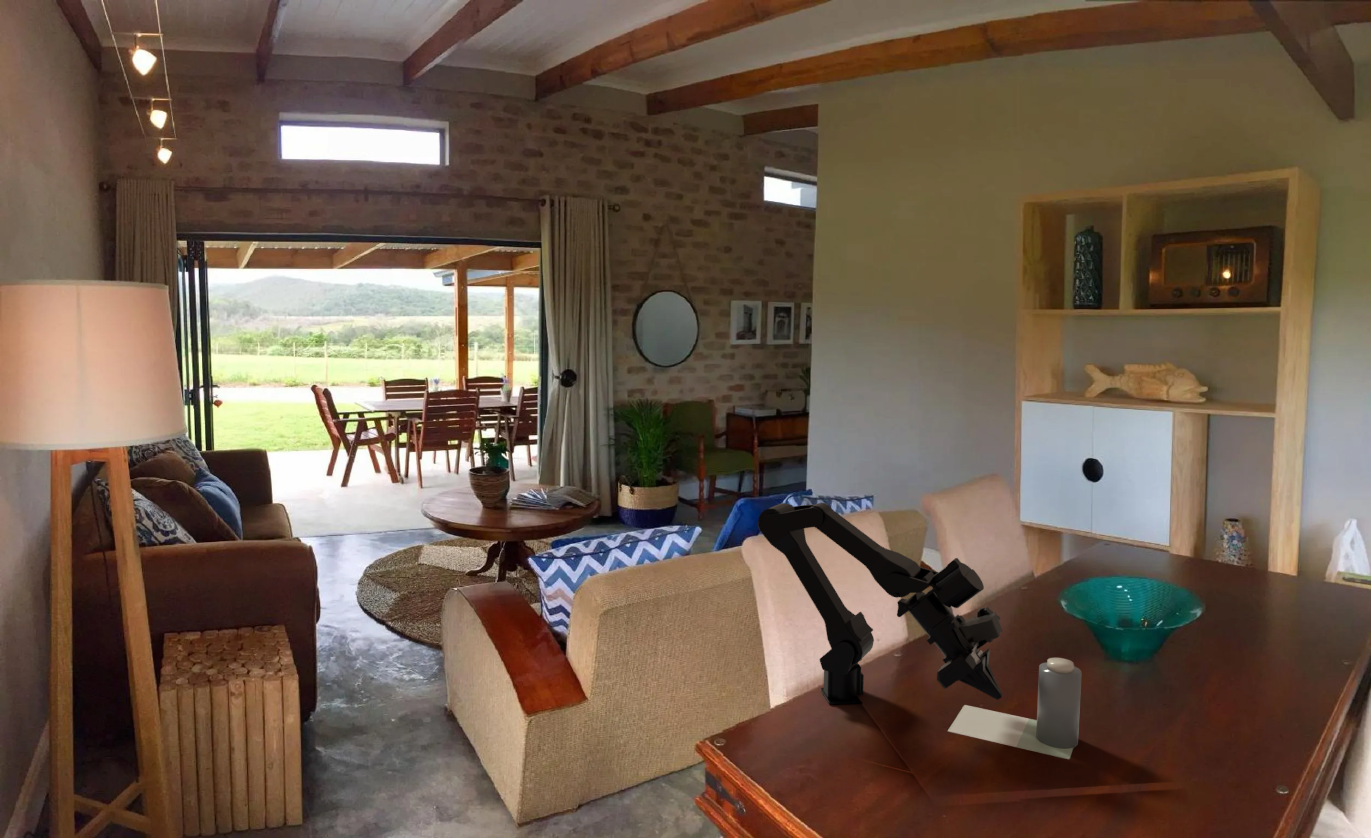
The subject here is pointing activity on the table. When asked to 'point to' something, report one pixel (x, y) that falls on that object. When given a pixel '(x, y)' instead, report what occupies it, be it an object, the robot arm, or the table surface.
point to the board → (1003, 730)
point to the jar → (1058, 703)
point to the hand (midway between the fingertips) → (1000, 697)
